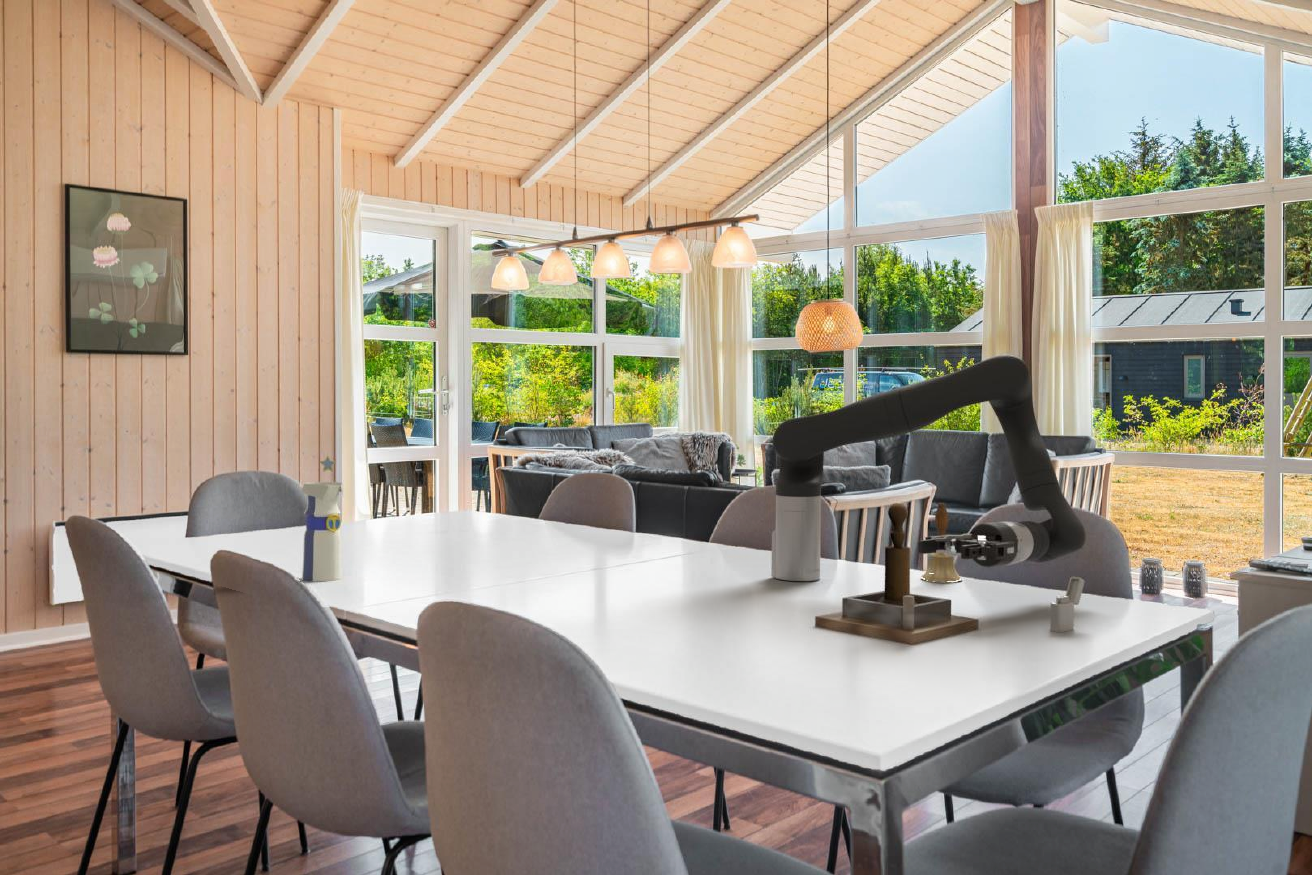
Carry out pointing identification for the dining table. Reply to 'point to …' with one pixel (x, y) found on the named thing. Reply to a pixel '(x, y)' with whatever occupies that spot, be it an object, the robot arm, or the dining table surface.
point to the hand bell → (940, 561)
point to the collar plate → (897, 618)
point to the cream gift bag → (322, 530)
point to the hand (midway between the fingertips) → (941, 549)
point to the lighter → (1066, 606)
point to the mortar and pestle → (897, 560)
